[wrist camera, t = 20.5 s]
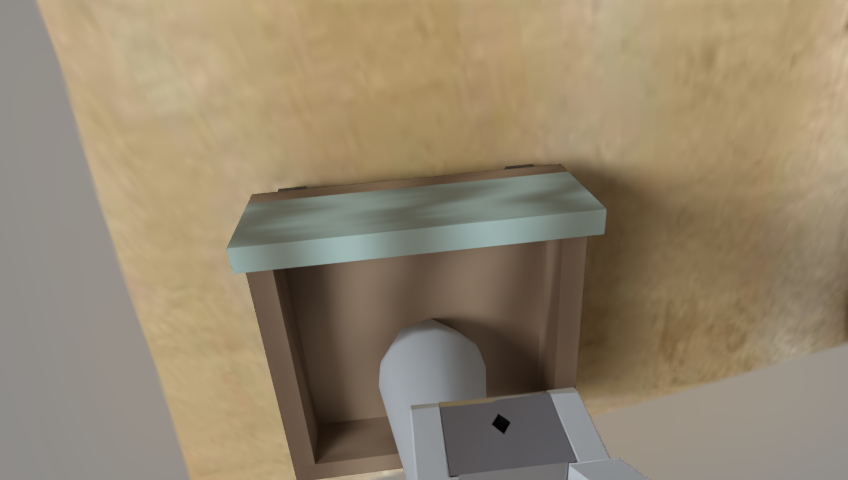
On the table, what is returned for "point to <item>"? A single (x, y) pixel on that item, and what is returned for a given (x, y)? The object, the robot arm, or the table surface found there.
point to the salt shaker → (427, 377)
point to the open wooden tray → (410, 293)
